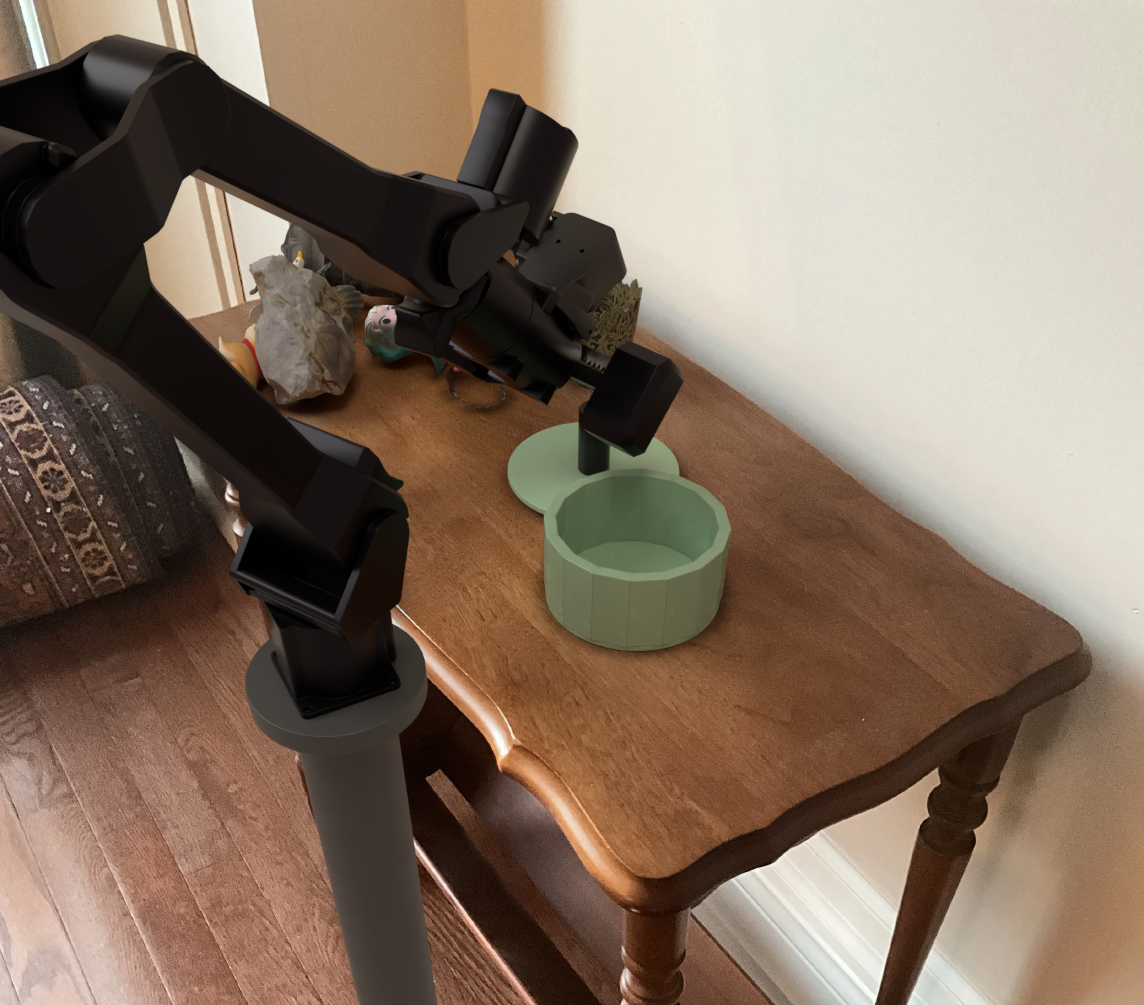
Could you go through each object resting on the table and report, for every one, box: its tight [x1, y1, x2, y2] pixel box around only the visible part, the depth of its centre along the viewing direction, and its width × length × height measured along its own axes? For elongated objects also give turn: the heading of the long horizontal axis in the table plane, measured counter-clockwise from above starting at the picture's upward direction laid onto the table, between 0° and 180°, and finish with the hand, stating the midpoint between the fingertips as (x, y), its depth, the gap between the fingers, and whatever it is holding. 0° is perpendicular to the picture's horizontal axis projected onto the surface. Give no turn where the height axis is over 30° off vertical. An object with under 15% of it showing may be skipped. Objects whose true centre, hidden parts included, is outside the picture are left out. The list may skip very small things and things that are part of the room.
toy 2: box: [280, 223, 405, 300], centre depth 104 cm, size 8×6×15 cm
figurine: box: [363, 304, 446, 374], centre depth 97 cm, size 12×9×8 cm
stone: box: [248, 254, 357, 405], centre depth 94 cm, size 11×7×10 cm
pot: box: [543, 469, 732, 652], centre depth 78 cm, size 12×12×6 cm
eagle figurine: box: [247, 251, 365, 326], centre depth 102 cm, size 8×7×9 cm
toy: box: [217, 323, 265, 389], centre depth 95 cm, size 3×17×5 cm
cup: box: [579, 278, 643, 387], centre depth 96 cm, size 8×7×8 cm
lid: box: [507, 400, 680, 515], centre depth 87 cm, size 13×13×6 cm
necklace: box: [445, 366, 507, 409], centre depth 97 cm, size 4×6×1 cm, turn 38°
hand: (604, 406), depth 85 cm, fingers open, 9 cm apart
